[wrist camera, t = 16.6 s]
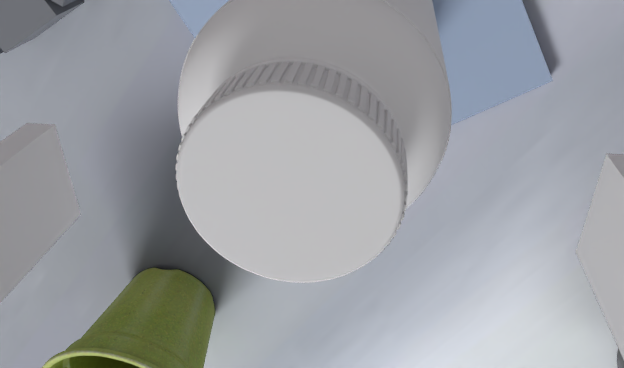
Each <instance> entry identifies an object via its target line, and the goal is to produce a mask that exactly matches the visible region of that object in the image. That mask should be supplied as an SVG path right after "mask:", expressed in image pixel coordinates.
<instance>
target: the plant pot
mask: <svg viewBox="0 0 624 368" xmlns="http://www.w3.org/2000/svg"><path fill="white" fill-rule="evenodd" d="M214 316H215V309H214V303H213V297H212V295H211V293H210V291H209V290H208V289H207V288H206V286H205V285H204V284H202V283H201V282H200V281H199V280H198V279H196V278H195V277H193V276H191V275H190V274H188V273H186V272H183V271H181V270H177V269H174V270H162V269H158V268H149V269H146V270H144V271H142V272H140V273H139V274H137V275H136V276H135V277H134V278H133V280H132V281H131V282H130V283H129V284H128V285H127V286H126V288H125V289H124V290H123V291H122V292H121V293H120V295H119V296H118V297H117V298H116V299H115V300H114V301H113V303H112V304H111V305H110V306H109V307H108V308H107V309H106V310H105V312H104V313H103V314H102V315H101V316H100V317H99V318H98V319H97V321H96V322H95V323H94V324H93V325H92V326H91V327H90V329H89V330H88V331H87V332H86V333H85V334H84V335H83V336H82V338H81V339H79V340H77V341H75V342H74V343H73V344H71V345H70V346H69V347H68V348H67V349H66V350H65V351H63V352H61V353H58V354H56V355H55V356H53V357H52V358H50V359H49V360H48V361H47V362H46V363H45V364H44V366H43V367H42V368H203V367H204V362H205V357H206V353H207V348H208V343H209V338H210V334H211V329H212V325H213V320H214Z"/></svg>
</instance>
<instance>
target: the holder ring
mask: <svg viewBox="0 0 624 368" xmlns="http://www.w3.org/2000/svg"><path fill="white" fill-rule="evenodd" d="M82 3H84V2H83V0H0V53H2V52H4V53H7V52H9V51H10V50H12V49H14V48H16V47H18V46H20V45H22V44H24V43H26V42H28V41H30V40H32V39H34V38H35V37H37V36H38V35H40V34H41V33H42V32H44V31H45V30H46V29H48V28H49V27H51V26H52V25H53V24H55V23H56V22H57V21H59V20H60V19H62V18H63V17H64V16H66V15H67V14H68V13H70V12H71V11H73V10H74V9H75V8H77V7H78V6H79V5H81V4H82Z"/></svg>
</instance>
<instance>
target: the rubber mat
mask: <svg viewBox="0 0 624 368" xmlns="http://www.w3.org/2000/svg"><path fill="white" fill-rule="evenodd" d="M169 1H170V3H171V4H172V6H173V7H174V8H175V10H176V11H177V13H178V14H179V16H180V17H181V19H182V20H183V22H184V23H185V24H186V26H187V27H188V29H189V30H190V32H191V33H192V35H193V36H194V38H196V36H197V35H198V33H199V32H200V30H201V29H202V28H203V26H204V25H205V24H206V22H207V21H208V20H209V19H210V18H211V17H212V16H213V15H214V14H215V13H216V12H217V11H218V10H219V9H220V8H221V7H222V6H223V5H224V4H225V3H227V2H228V1H229V0H169ZM432 2H433V7H434V12H435V17H436V22H437V26H438V31H439V36H440V41H441V46H442V51H443V56H444V61H445V66H446V71H447V76H448V81H449V87H450V93H451V104H452V120H451V125H452V124H455V123H457V122H459V121H462V120H464V119H466V118H469V117H471V116H473V115H475V114H478V113H480V112H482V111H485V110H487V109H489V108H491V107H494V106H496V105H498V104H501V103H503V102H505V101H508V100H510V99H512V98H514V97H517V96H519V95H521V94H524V93H526V92H528V91H531V90H533V89H535V88H537V87H540V86H542V85H544V84H547V83H549V82H551V81H553V80H552V77H551V74H550V72H549V69H548V67H547V64H546V61H545V59H544V56H543V54H542V51H541V49H540V46H539V43H538V41H537V38H536V36H535V33H534V30H533V28H532V25H531V23H530V20H529V17H528V15H527V12H526V10H525V7H524V5H523V2H522V0H432Z"/></svg>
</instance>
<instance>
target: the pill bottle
mask: <svg viewBox="0 0 624 368" xmlns="http://www.w3.org/2000/svg"><path fill="white" fill-rule="evenodd" d="M178 118H179V125H180V130H181V135H182V139H181V141H182V142H181V143H180V144H179V148H178V151H179V152H178V154H177V157H176V160H177V161H178V162H177V163H176V169H175V170H177V173H176V180H177V189H178V191H179V196H180V199H181V202H182V205H183V207H184V210H185V212H186V214H187V216H188V218H189V220H190V222H191V223H192V225H193V226H194V228H195V229H196V231H197V232H198V233H199V234H200V236H201V237H202V238H203V239H204V240H205V241H206V242H207V243H208V244H209V245H210V246H211V247H212V248H213V249H214V250H215V251H216V252H217V253H219V254H220V255H221V256H223V257H224V258H225V259H227V260H228V261H230V262H232V263H233V264H235V265H237V266H239V267H240V268H242V269H245V270H247V271H249V272H251V273H254V274H257V275H259V276H262V277H266V278H270V279H274V280H279V281H285V282H296V283H309V282H320V281H326V280H330V279H334V278H338V277H341V276H344V275H347V274H349V273H351V272H353V271H355V270H357V269H359V268H361V267H363V266H364V265H366V264H367V263H369V262H370V261H371V260H373V259H374V258H376V257H377V256H378V254H379V253H381V252H382V251H383V250H384V249H385V247H386V246H388V245H389V243H390V242H391V239H392V238H394V236H395V235H396V230H398V229H399V228H400V225H401V221H402V220H403V218H404V211H406V209H407V208H408V207H409V206H410V205H411V204H412V203H413V202H414V201H415V200H416V199H417V198H418V197H419V196H420V195H421V194H422V192H423V191H424V190H425V189H426V187H427V186H428V184H429V183H430V181H431V180H432V178H433V176H434V175H435V173H436V171H437V169H438V167H439V165H440V163H441V161H442V159H443V157H444V154H445V151H446V148H447V145H448V141H449V136H450V130H451V120H452V104H451V93H450V87H449V81H448V76H447V71H446V66H445V61H444V56H443V51H442V46H441V41H440V36H439V31H438V26H437V22H436V17H435V12H434V7H433V2H432V0H229V1H228V2H227V3H225V4H224V5H223V6H222V7H221V8H220V9H219V10H218V11H217V12H216V13H215V14H214V15H213V16H212V17H211V18H210V19H209V20H208V21H207V22H206V24H205V25H204V26H203V28H202V29H201V30H200V32H199V33H198V35H197V36H196V38H195V39H194V41H193V43H192V45H191V47H190V49H189V51H188V53H187V56H186V59H185V61H184V65H183V68H182V72H181V77H180V83H179V91H178Z"/></svg>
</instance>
